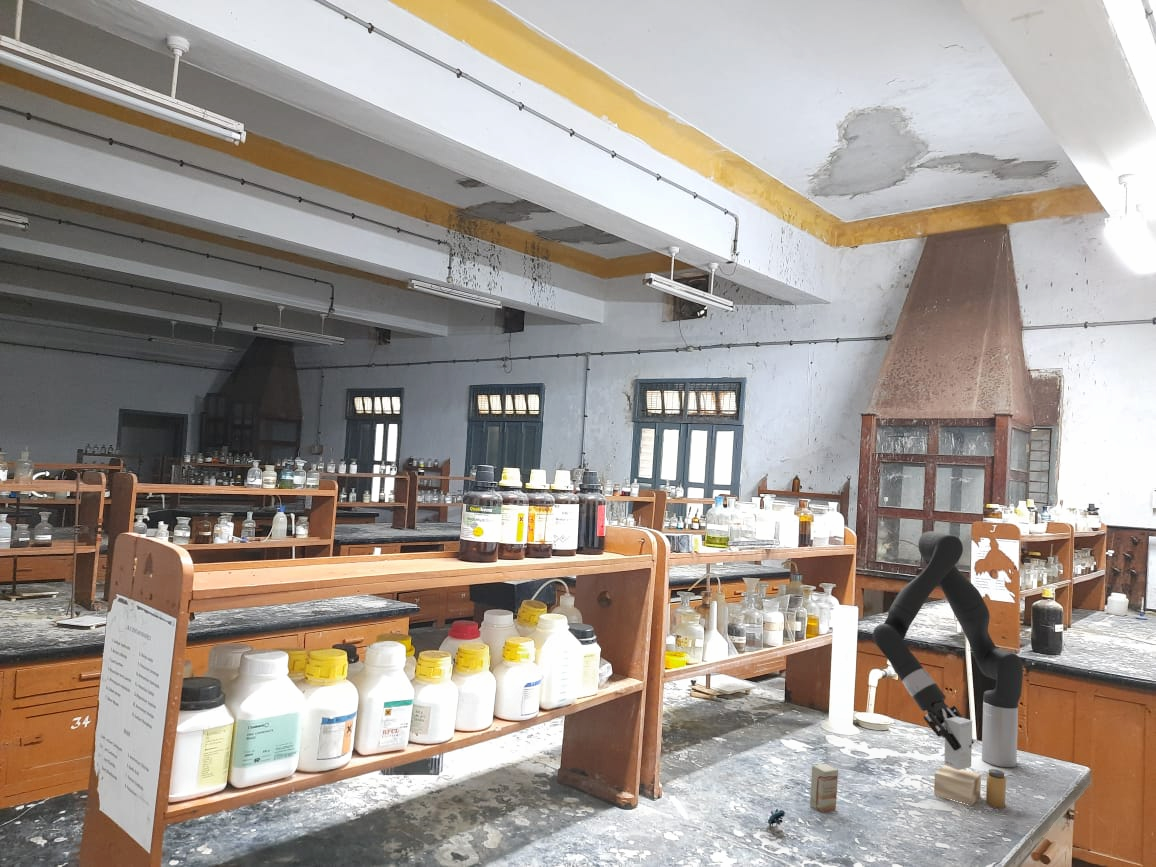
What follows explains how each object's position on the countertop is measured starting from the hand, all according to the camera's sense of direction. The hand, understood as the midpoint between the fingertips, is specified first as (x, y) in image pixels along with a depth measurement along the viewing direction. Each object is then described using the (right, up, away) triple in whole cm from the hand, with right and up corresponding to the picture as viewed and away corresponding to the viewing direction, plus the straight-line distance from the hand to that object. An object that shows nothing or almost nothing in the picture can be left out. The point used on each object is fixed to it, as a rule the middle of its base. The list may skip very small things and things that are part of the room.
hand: (964, 746), depth 203 cm
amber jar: (+6, -14, -3) cm, 15 cm away
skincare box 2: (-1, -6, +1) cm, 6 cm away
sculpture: (-57, -10, -26) cm, 63 cm away
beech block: (-2, -14, +1) cm, 14 cm away
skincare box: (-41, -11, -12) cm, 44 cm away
